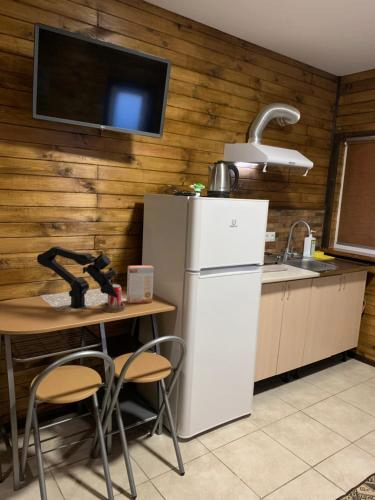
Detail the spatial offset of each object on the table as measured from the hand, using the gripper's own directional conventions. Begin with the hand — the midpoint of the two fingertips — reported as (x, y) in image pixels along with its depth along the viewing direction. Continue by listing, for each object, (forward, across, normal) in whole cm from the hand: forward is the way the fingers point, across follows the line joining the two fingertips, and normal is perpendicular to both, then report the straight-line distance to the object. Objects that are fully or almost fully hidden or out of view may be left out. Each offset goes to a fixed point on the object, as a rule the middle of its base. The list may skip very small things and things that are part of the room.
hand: (117, 295), depth 204 cm
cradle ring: (+5, 0, +6) cm, 8 cm away
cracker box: (+15, +14, -4) cm, 21 cm away
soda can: (+4, 0, +6) cm, 7 cm away
